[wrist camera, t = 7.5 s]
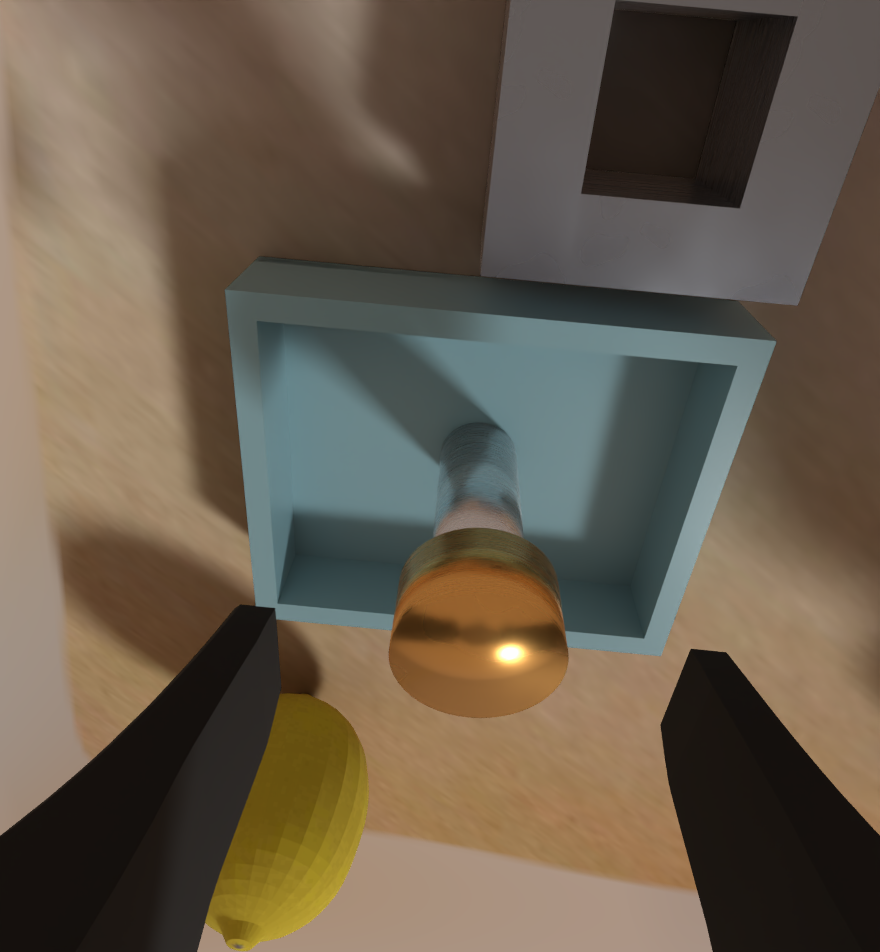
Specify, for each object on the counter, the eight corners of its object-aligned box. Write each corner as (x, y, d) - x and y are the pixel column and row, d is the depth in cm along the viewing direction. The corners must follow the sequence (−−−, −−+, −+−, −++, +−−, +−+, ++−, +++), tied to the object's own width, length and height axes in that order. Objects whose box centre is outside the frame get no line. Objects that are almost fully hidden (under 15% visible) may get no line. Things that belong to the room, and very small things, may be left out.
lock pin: (529, 509, 19) (552, 724, 13) (415, 499, 19) (386, 709, 13) (548, 407, 17) (584, 603, 11) (422, 395, 17) (391, 585, 11)
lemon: (396, 661, 23) (360, 917, 16) (367, 757, 26) (326, 1006, 19) (235, 627, 23) (129, 876, 16) (224, 729, 26) (131, 974, 19)
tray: (643, 593, 21) (660, 655, 19) (279, 559, 21) (256, 617, 19) (737, 300, 16) (776, 341, 14) (259, 256, 16) (224, 289, 14)
